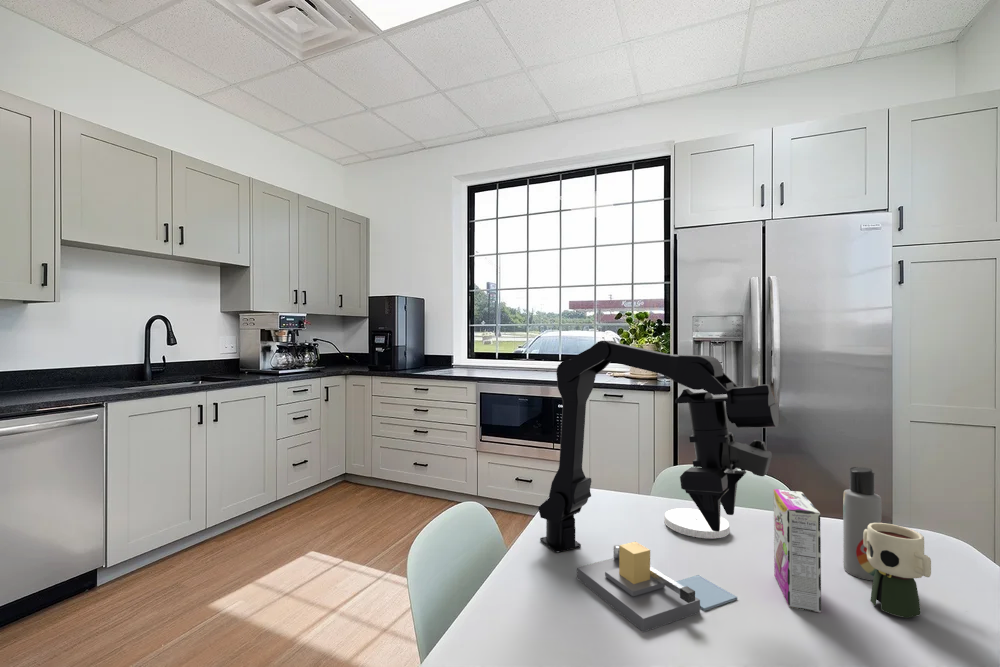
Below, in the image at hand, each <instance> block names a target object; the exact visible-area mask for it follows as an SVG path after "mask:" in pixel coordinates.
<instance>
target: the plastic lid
mask: <svg viewBox="0 0 1000 667" xmlns="http://www.w3.org/2000/svg"><path fill="white" fill-rule="evenodd" d="M664 523H665V525H666V526H667V527H668V528H670V529H671V530H673V531H674V532H677V533H679V534H682V535H685V536H688V537H689V536H690V537H693V538H695V537H696V538H699V539H701V538H702V539H720V538H725V537H727V536H728V535H729V534H730V532H731V530H730V527H731V526H730V522H729V521H728V519H726V518H724V517H723V516H722V515H720V531H713V530H712V529H711V528H710V526H709V524H708V523H707V521H706V520H705V518H704V516H703V515H702V513H701V512H700V510H699V508H690V507H689V508H688V507H680V508H672V509H669V510H667V511H665V512H664Z"/></svg>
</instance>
